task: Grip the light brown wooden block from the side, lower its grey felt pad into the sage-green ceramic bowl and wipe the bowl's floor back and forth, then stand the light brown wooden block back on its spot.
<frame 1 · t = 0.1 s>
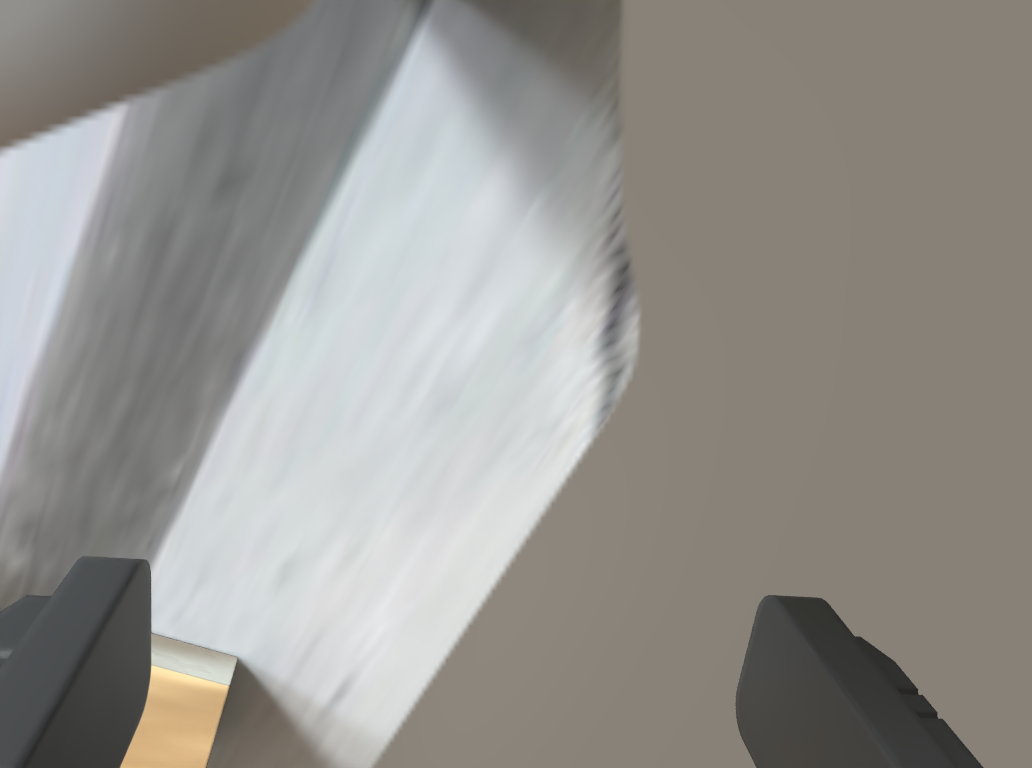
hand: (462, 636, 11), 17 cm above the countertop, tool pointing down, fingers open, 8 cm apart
light brown wooden block: (147, 680, 32), on the countertop
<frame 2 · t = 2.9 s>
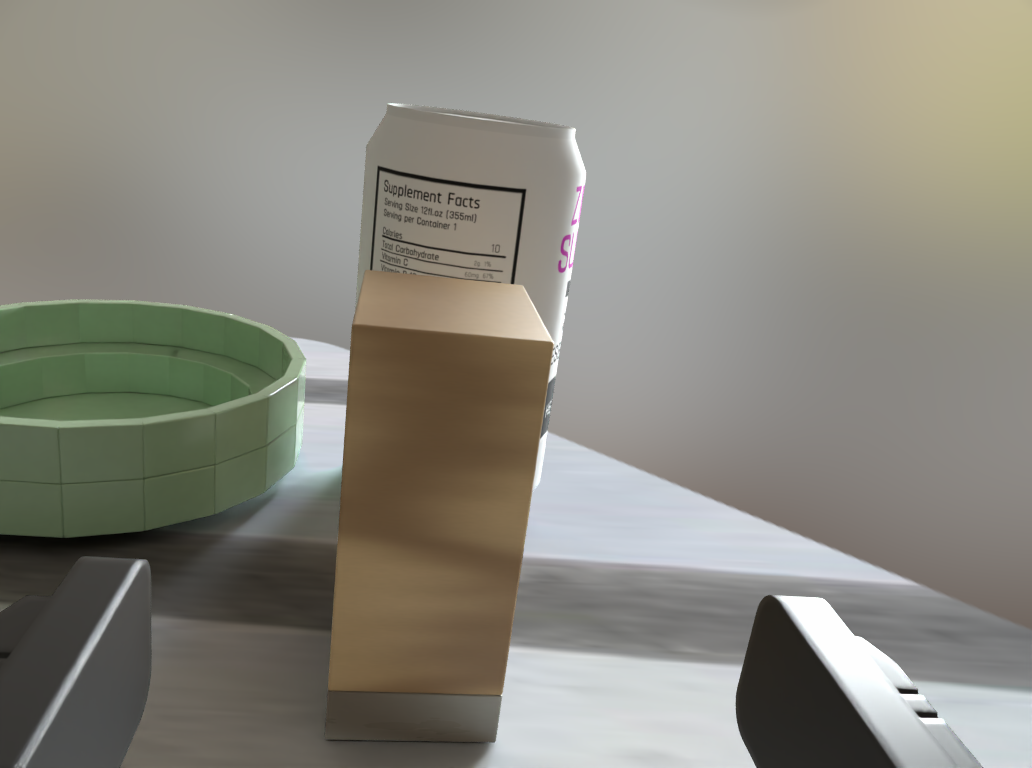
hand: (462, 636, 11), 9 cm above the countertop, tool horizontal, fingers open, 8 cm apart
light brown wooden block: (411, 672, 25), on the countertop
bowl: (107, 455, 35), on the countertop
supplement can: (441, 485, 37), on the countertop
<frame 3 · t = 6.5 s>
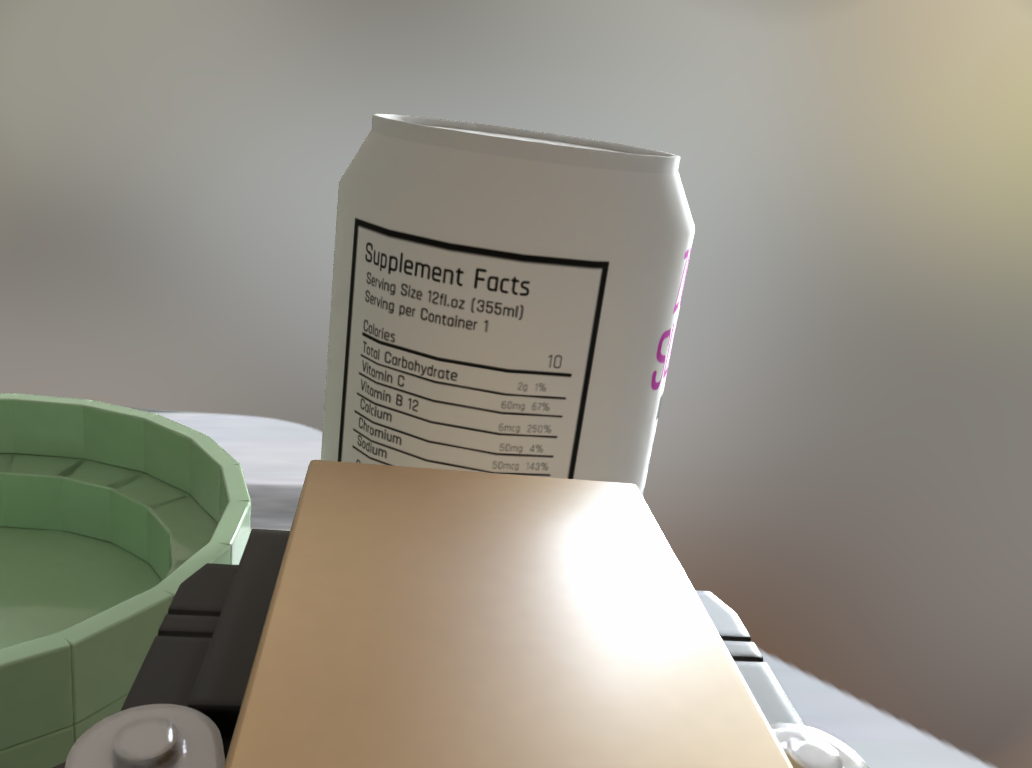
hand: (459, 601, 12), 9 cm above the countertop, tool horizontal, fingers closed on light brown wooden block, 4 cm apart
supplement can: (455, 687, 24), on the countertop
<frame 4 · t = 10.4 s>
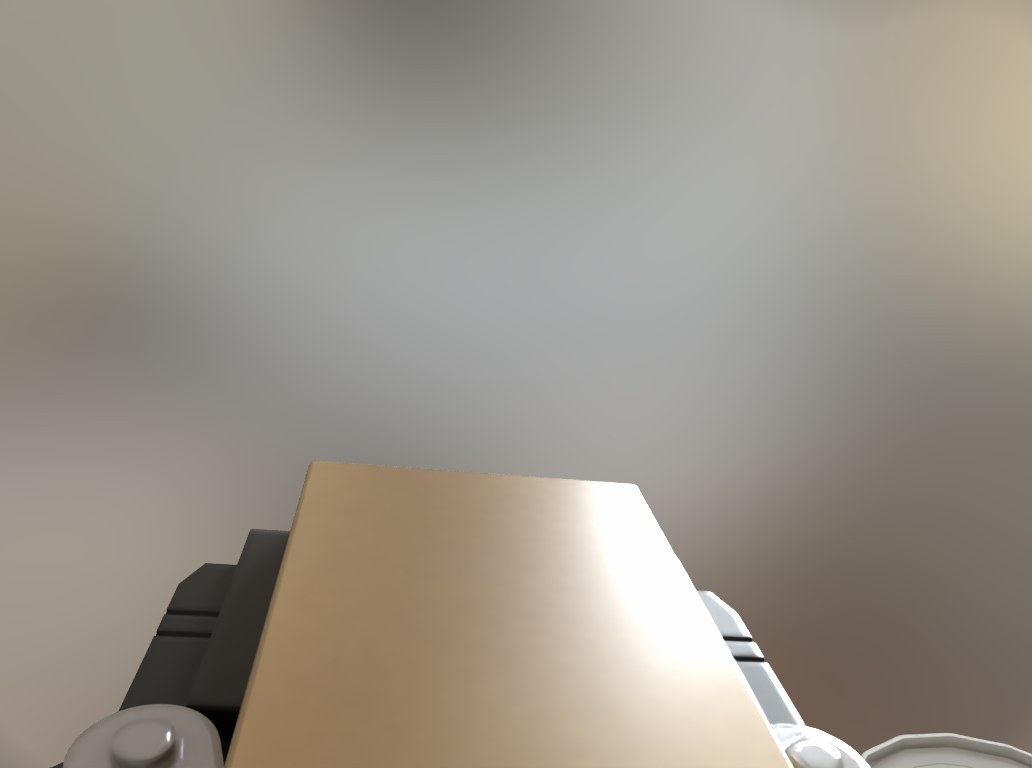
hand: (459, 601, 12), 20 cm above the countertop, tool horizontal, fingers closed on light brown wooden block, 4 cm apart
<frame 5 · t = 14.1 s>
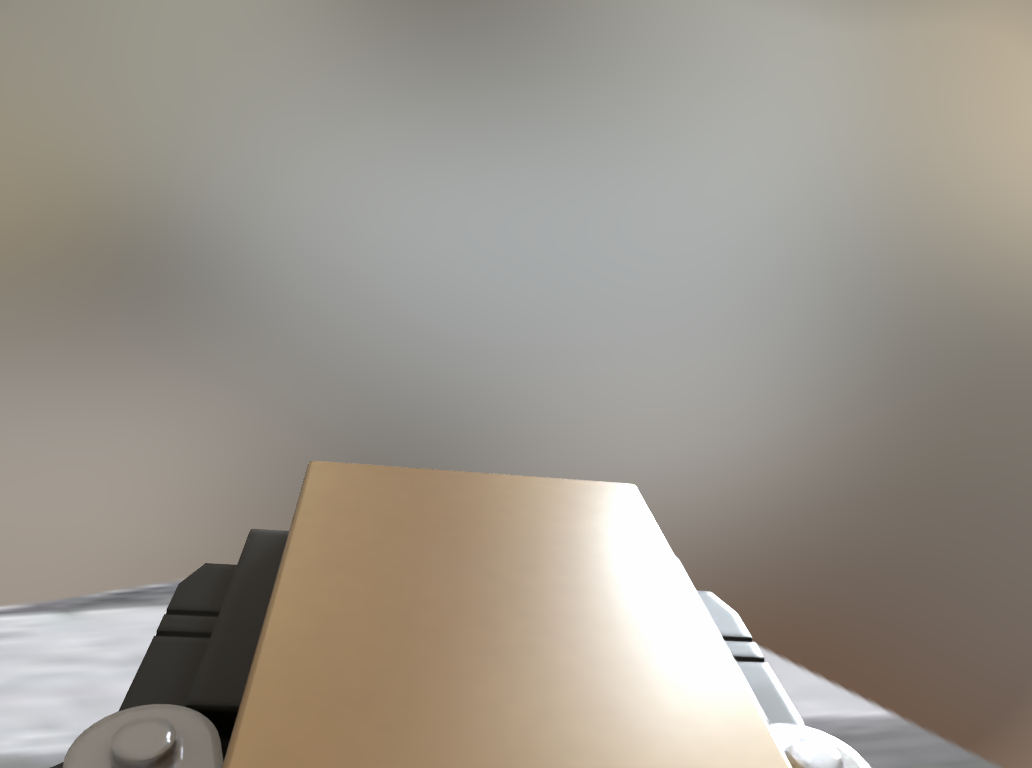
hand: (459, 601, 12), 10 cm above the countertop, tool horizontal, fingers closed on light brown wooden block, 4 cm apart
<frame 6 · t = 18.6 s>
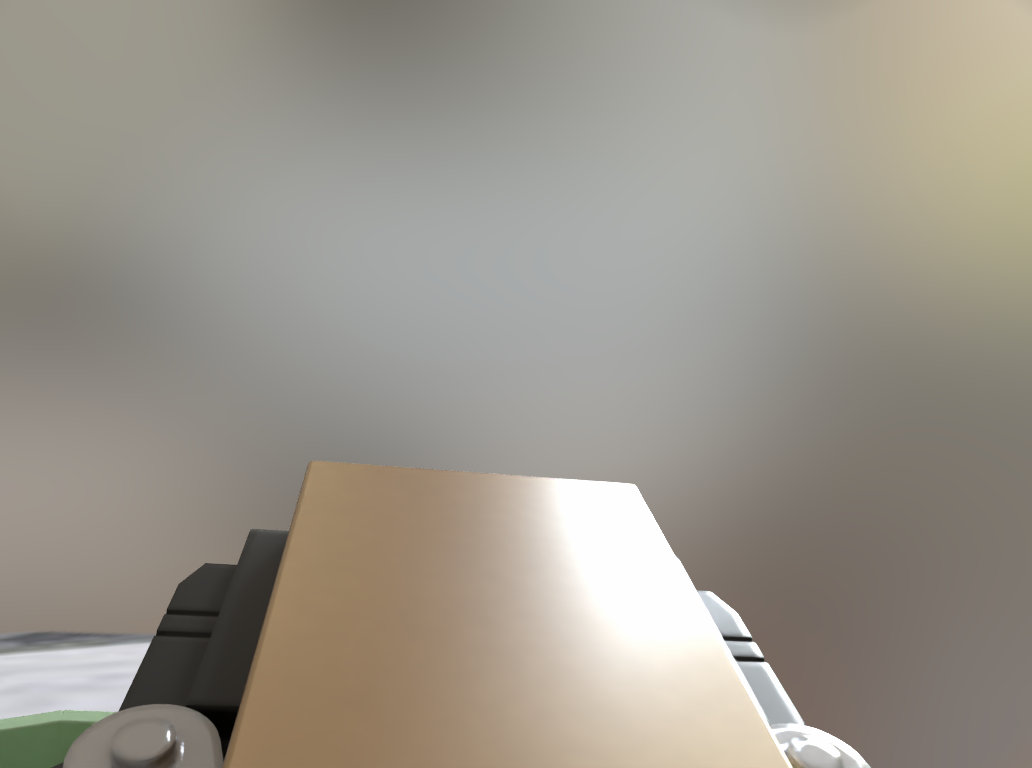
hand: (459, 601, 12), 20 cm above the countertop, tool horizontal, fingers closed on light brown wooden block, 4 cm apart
when the fingers open (9 cm above the countertop, at t = 22.2 s): light brown wooden block stays where it is, on the countertop.
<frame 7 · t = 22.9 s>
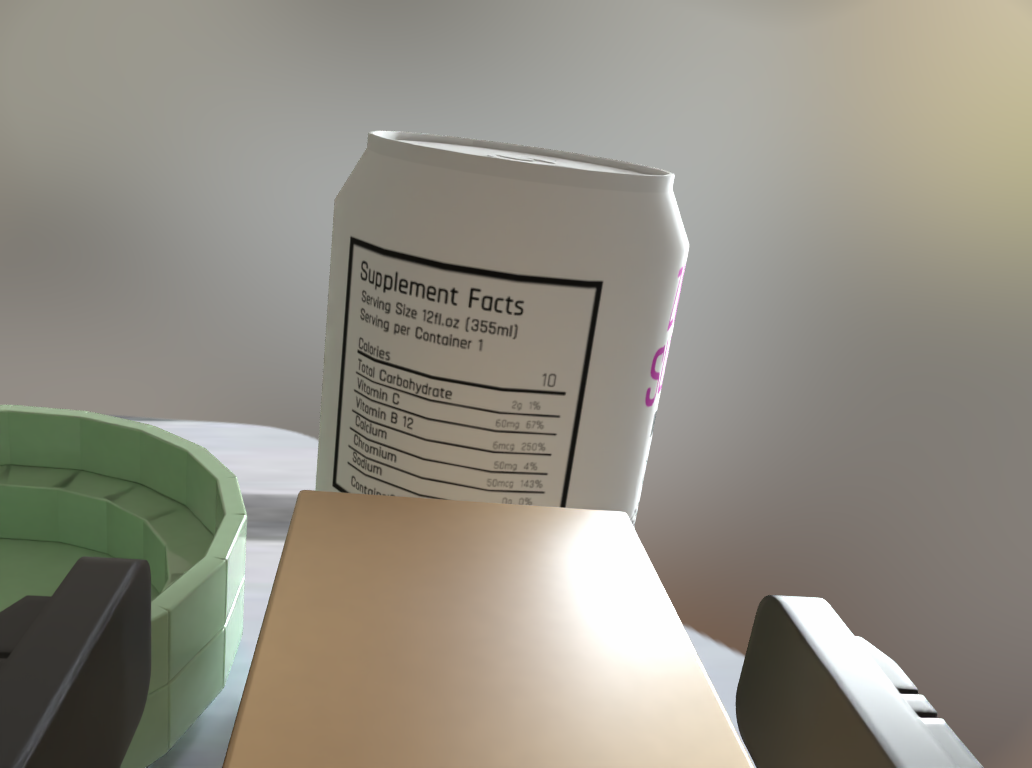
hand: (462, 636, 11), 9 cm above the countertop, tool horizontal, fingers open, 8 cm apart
supplement can: (450, 700, 24), on the countertop
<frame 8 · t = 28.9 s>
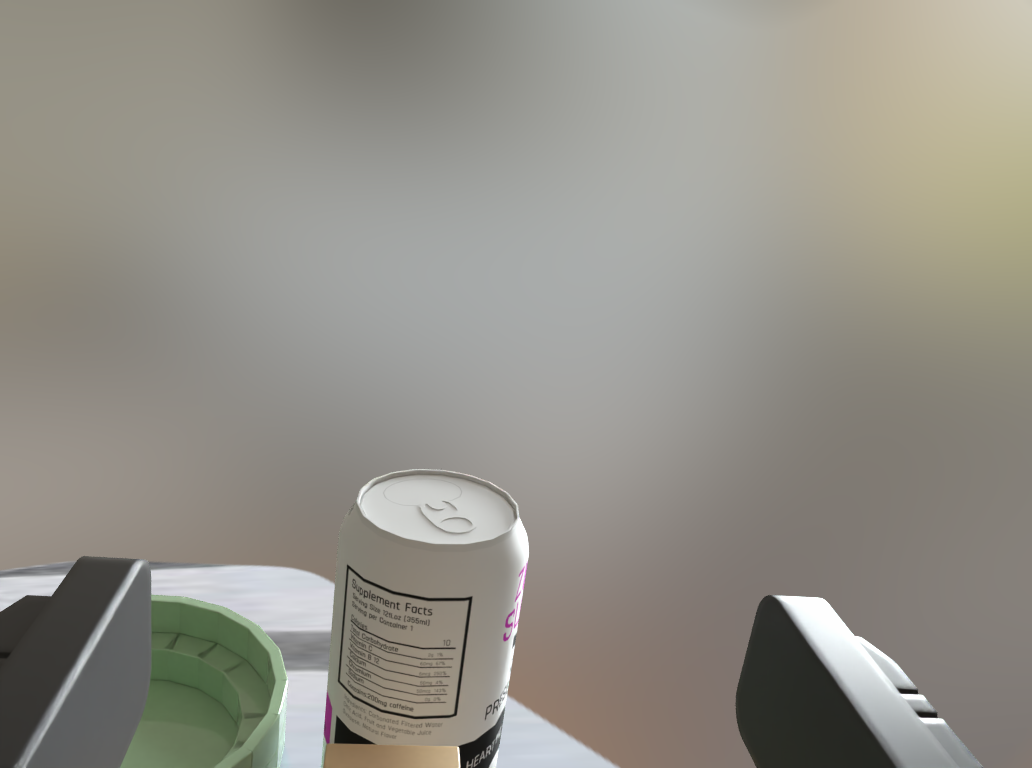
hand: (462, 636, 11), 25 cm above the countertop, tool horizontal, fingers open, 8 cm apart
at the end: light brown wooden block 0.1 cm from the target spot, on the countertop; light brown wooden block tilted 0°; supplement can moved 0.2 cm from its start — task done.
